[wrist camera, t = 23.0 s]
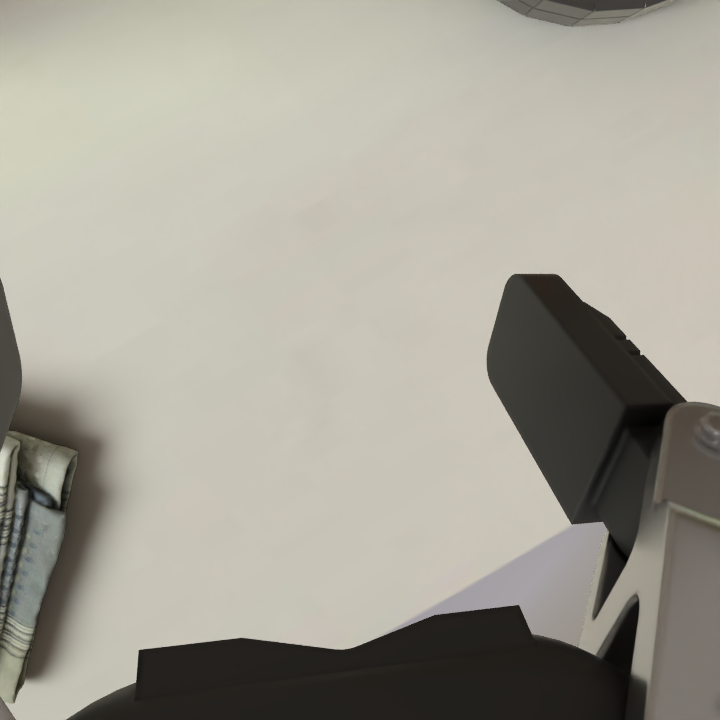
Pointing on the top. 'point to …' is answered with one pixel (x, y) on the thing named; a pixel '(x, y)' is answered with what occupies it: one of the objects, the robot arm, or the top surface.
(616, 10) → the pan
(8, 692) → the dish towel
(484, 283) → the top surface
